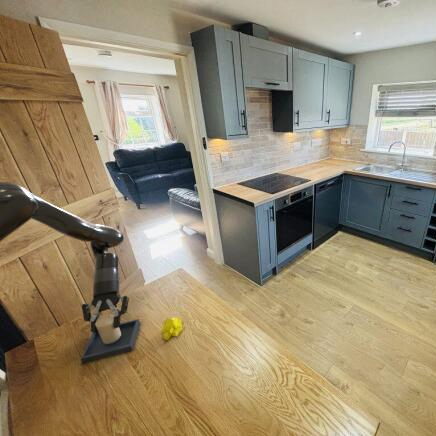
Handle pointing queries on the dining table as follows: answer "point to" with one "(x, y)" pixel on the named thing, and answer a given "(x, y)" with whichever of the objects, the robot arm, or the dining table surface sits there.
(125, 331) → the tray
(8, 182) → the robot arm
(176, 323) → the crumpled paper
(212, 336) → the dining table surface
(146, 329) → the dining table surface
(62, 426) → the dining table surface
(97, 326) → the candle
